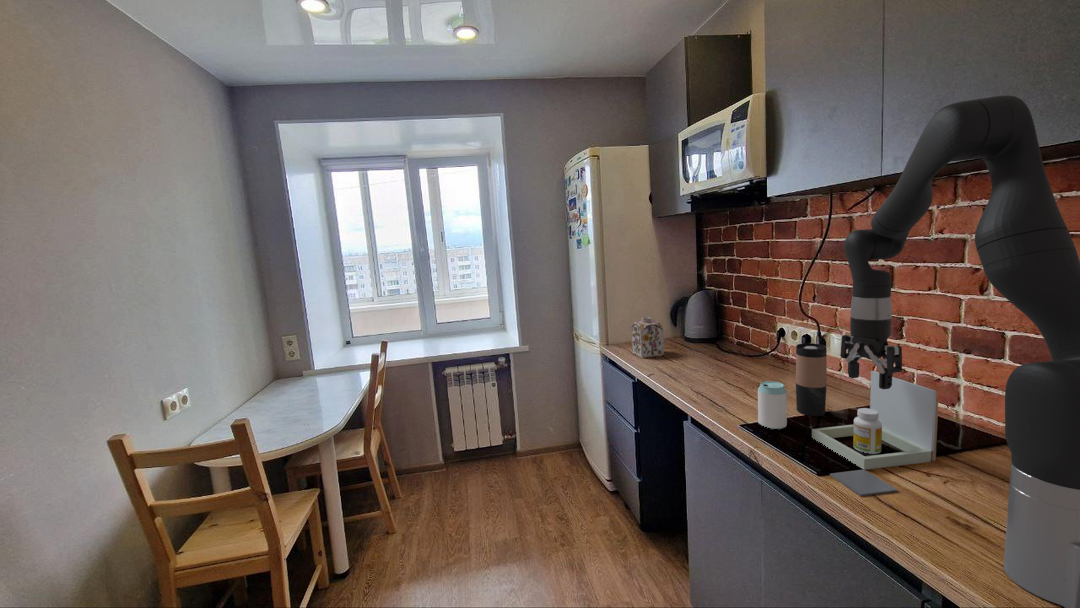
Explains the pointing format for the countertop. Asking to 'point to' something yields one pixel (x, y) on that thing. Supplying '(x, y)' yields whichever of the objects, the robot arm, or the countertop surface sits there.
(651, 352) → the decorative jar
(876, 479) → the slate coaster
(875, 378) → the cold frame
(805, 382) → the travel mug
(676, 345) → the countertop surface
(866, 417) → the supplement bottle
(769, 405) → the can
